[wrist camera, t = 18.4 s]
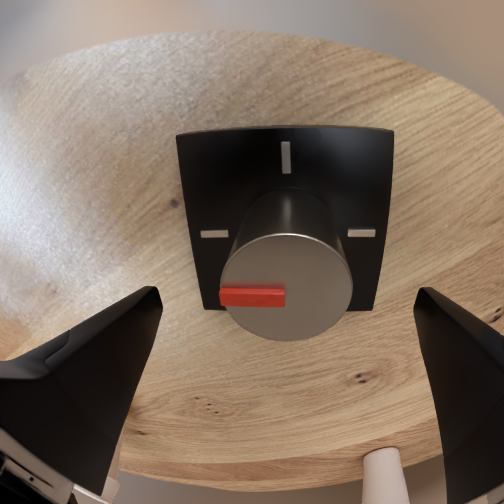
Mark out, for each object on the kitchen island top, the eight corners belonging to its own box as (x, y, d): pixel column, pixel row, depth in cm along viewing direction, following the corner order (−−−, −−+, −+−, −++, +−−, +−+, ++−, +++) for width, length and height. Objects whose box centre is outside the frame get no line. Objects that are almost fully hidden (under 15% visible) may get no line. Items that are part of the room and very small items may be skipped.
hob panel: (384, 128, 12) (396, 131, 10) (367, 296, 16) (373, 312, 15) (185, 132, 13) (173, 135, 12) (209, 295, 18) (202, 311, 16)
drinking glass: (385, 460, 30) (390, 541, 17) (348, 461, 30) (349, 549, 17) (412, 442, 27) (423, 532, 14) (375, 443, 27) (380, 544, 14)
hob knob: (335, 187, 12) (362, 238, 8) (330, 271, 14) (344, 347, 10) (238, 189, 13) (208, 238, 8) (246, 271, 15) (226, 345, 10)
